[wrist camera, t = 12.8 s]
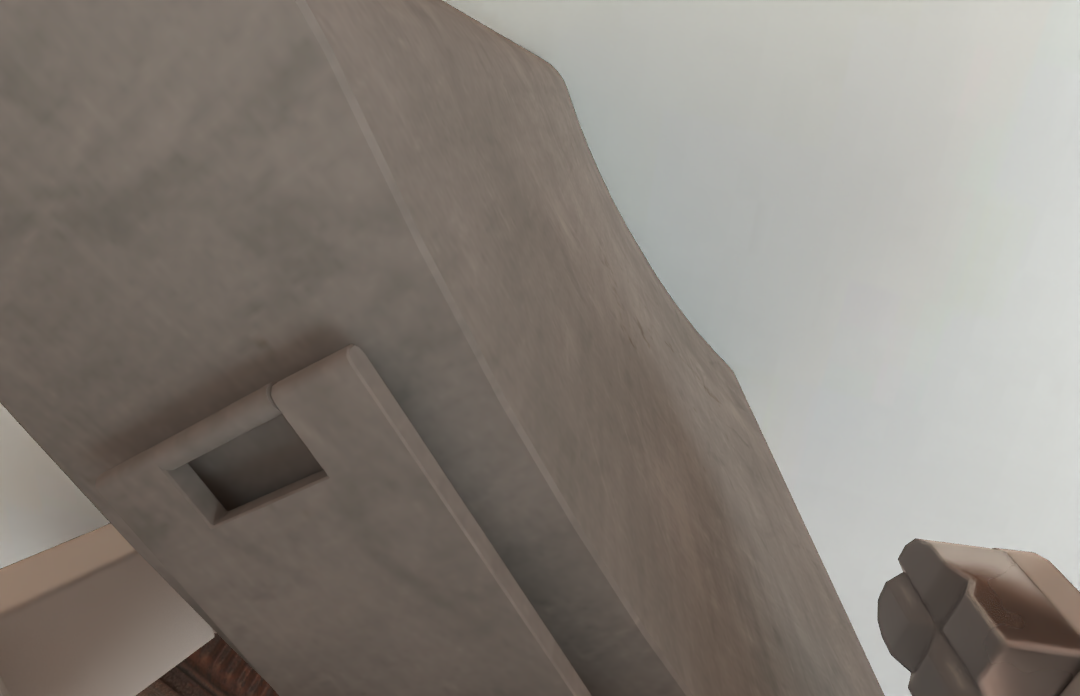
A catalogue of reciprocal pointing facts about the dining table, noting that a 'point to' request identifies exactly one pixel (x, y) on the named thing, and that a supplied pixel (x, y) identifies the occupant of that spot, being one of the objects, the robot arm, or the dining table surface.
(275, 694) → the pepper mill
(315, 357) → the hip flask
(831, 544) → the dining table surface
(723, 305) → the dining table surface
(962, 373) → the dining table surface
